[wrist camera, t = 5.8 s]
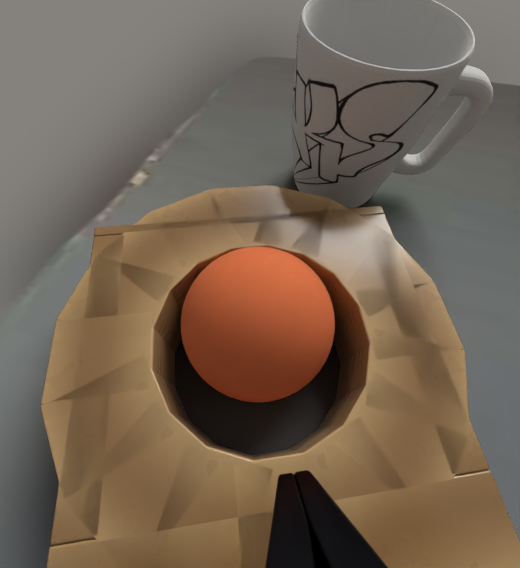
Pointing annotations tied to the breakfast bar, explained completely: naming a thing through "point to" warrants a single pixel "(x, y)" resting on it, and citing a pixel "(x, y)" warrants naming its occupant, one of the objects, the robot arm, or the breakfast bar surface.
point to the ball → (257, 324)
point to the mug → (378, 92)
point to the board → (268, 466)
